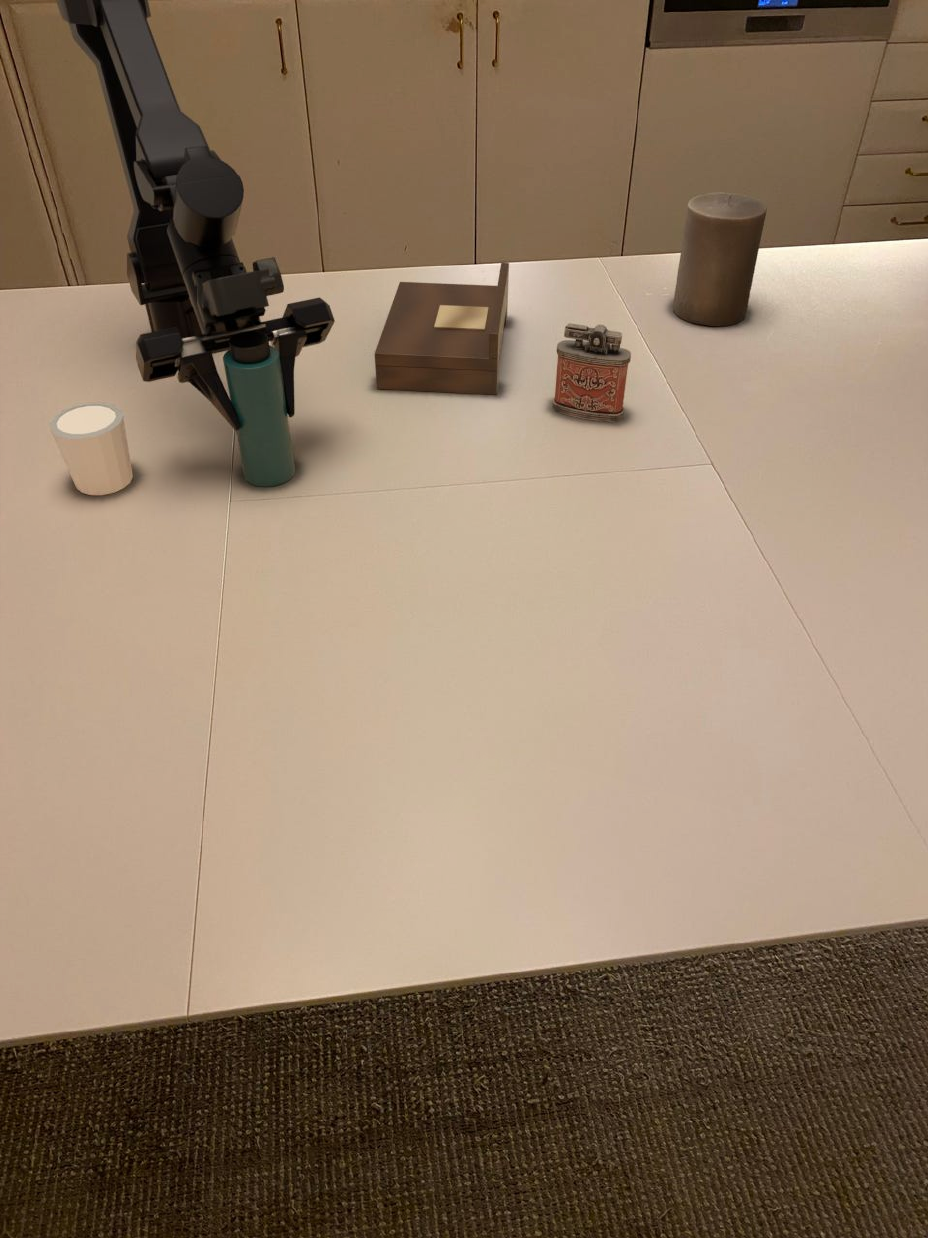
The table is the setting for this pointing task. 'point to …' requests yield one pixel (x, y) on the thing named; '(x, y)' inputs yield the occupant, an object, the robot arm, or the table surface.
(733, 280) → the pillar candle
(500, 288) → the wooden box
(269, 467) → the water bottle
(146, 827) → the table surface
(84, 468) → the cream cylinder
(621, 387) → the lighter
